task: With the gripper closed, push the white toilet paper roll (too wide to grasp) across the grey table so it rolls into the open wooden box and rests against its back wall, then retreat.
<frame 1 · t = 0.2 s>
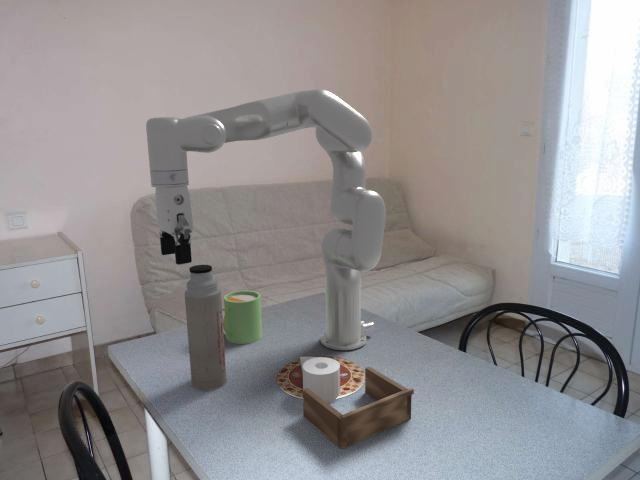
hand: (176, 258, 109), 31 cm above the table, fingers open, 9 cm apart
open wooden box: (355, 416, 104), on the table
mug: (240, 338, 143), on the table
toilet paper: (319, 390, 114), on the table
thermos bottle: (209, 382, 119), on the table
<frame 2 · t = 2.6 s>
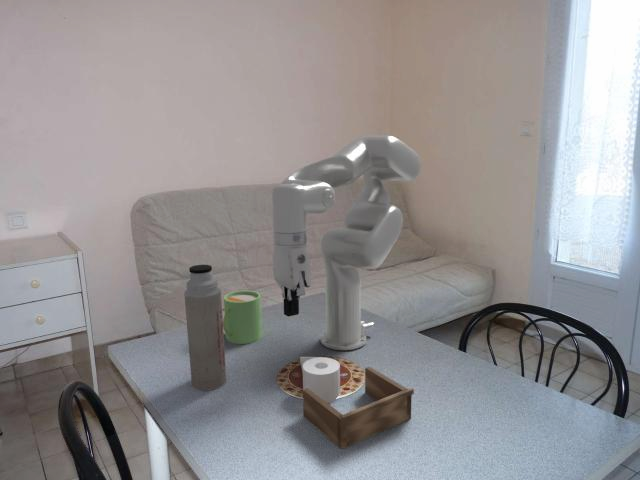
hand: (291, 314, 120), 15 cm above the table, fingers closed
nothing on the table moved.
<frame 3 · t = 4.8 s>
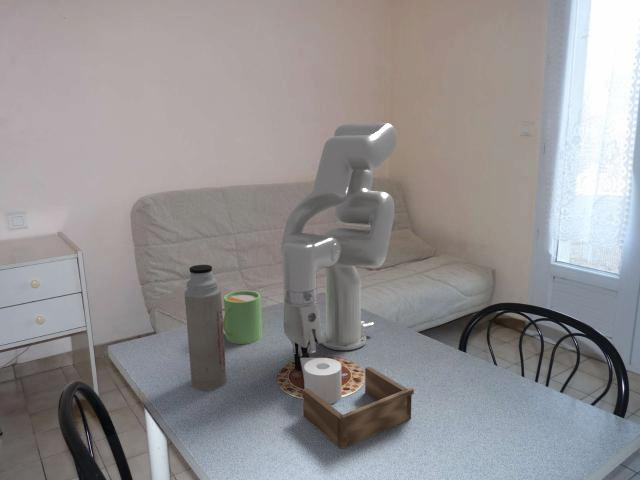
hand: (302, 369, 120), 2 cm above the table, fingers closed
nothing on the table moved.
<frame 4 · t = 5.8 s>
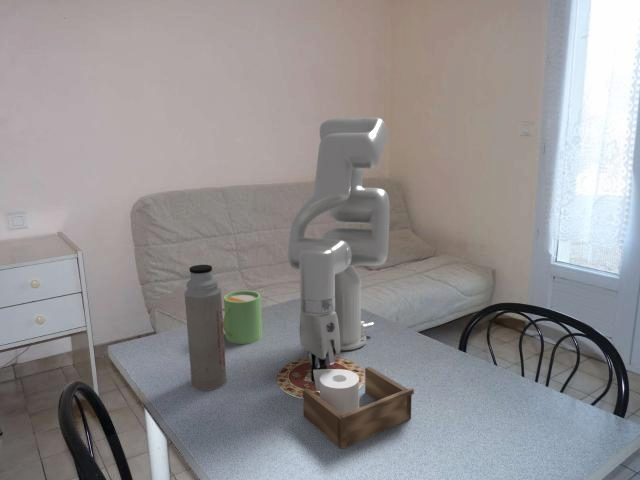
hand: (319, 381, 114), 2 cm above the table, fingers closed
toilet paper: (336, 404, 108), on the table, touching gripper
everything else where it was.
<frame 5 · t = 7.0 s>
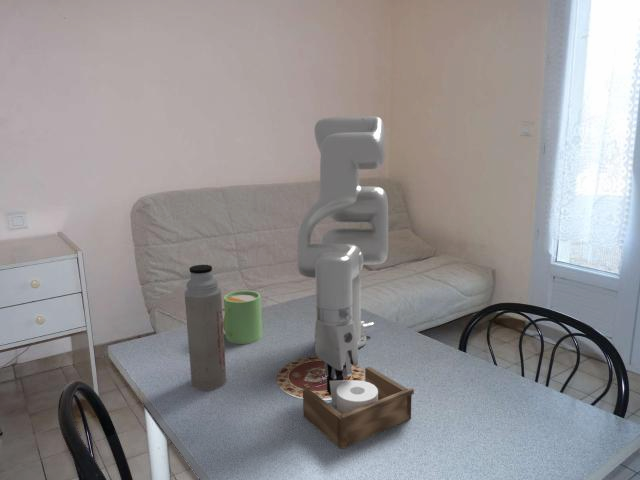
hand: (335, 392, 109), 2 cm above the table, fingers closed
toilet paper: (353, 417, 104), on the table, touching open wooden box, gripper
everything else where it was.
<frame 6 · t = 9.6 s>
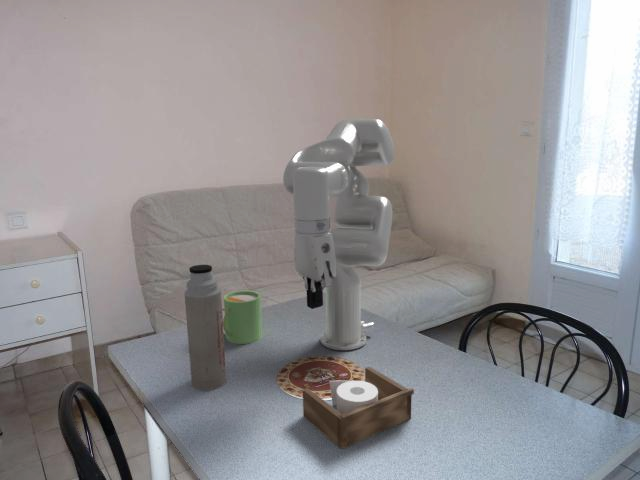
hand: (315, 306, 112), 19 cm above the table, fingers closed
toilet paper: (353, 418, 104), on the table
everything else where it was.
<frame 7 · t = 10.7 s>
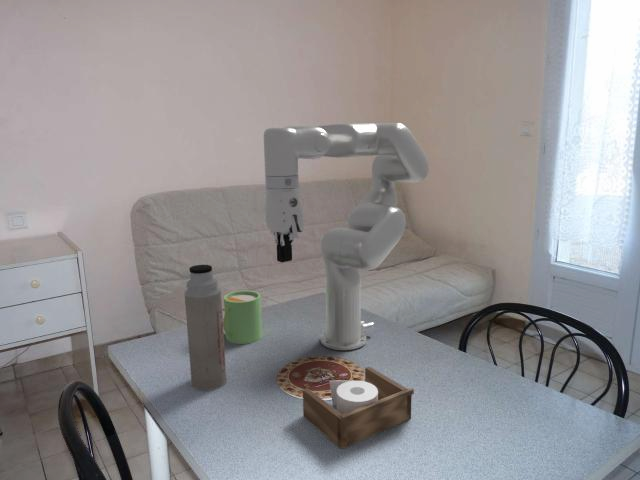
hand: (284, 260, 120), 27 cm above the table, fingers closed
nothing on the table moved.
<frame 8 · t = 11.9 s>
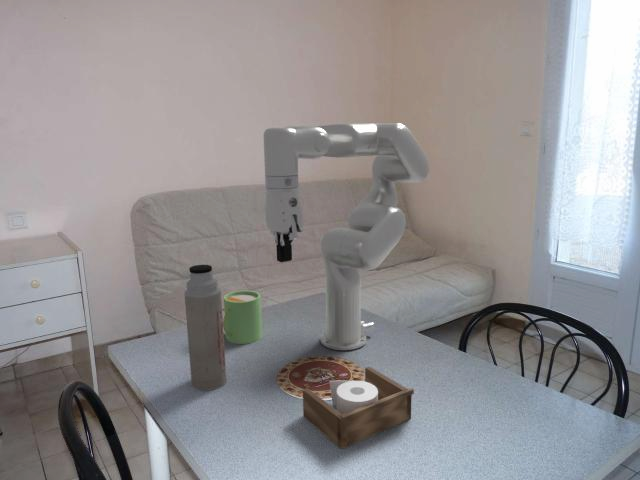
hand: (284, 260, 120), 27 cm above the table, fingers closed
nothing on the table moved.
at the end: toilet paper inside the target area on the open wooden box (1.8 cm from its centre), point 0.0 cm above the open wooden box's base; toilet paper moved 13.0 cm from its start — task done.
